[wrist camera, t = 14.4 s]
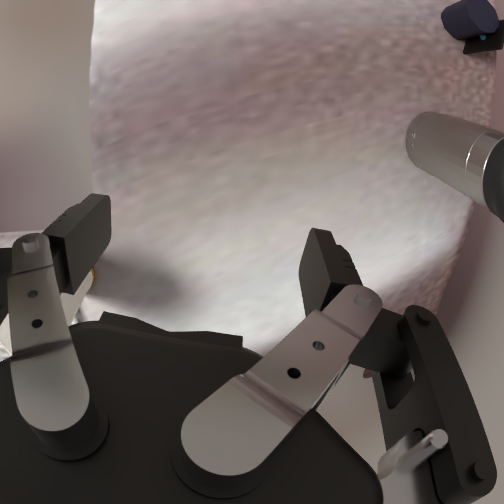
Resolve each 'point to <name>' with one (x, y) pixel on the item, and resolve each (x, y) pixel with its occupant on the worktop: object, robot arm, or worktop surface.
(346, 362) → the robot arm
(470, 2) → the speaker
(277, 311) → the worktop surface
